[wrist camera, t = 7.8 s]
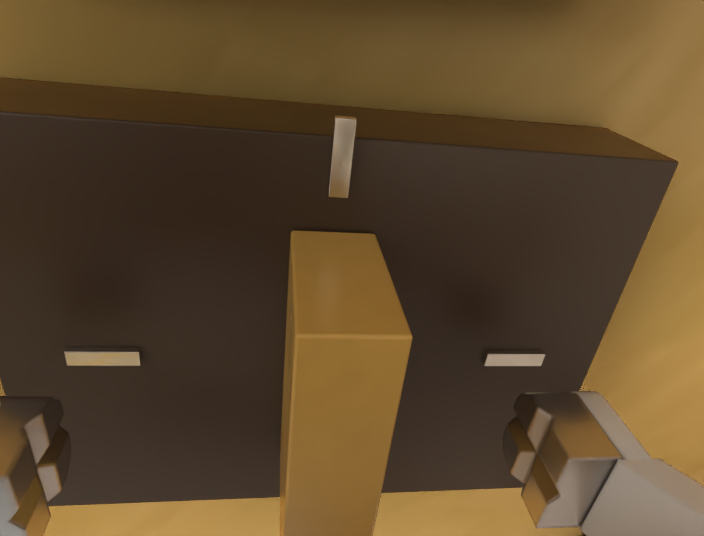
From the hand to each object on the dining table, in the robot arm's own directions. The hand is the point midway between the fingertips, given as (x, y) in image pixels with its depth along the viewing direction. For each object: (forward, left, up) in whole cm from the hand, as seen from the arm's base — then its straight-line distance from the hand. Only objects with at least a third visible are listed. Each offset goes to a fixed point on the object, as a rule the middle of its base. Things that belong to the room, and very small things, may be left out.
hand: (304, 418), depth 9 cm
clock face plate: (0, 0, -4) cm, 4 cm away
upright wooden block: (0, 0, -2) cm, 2 cm away
